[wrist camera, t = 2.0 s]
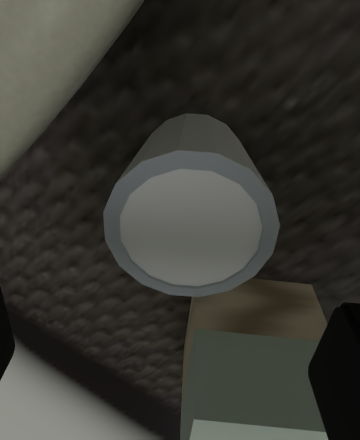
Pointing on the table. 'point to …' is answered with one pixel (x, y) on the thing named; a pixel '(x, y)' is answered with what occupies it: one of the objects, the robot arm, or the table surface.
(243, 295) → the tower base
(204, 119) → the shot glass
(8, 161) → the canister
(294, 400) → the tower top
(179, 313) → the table surface
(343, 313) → the robot arm
